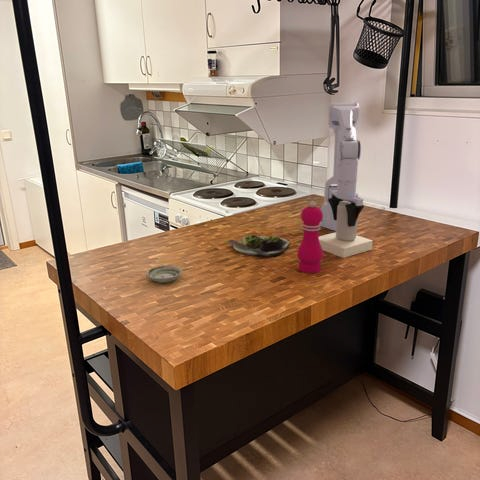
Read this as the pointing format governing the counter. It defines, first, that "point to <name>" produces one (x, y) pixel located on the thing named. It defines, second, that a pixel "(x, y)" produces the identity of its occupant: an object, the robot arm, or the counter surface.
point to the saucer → (164, 273)
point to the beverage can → (344, 224)
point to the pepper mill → (310, 240)
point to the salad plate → (261, 245)
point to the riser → (344, 245)
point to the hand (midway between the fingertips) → (344, 222)
